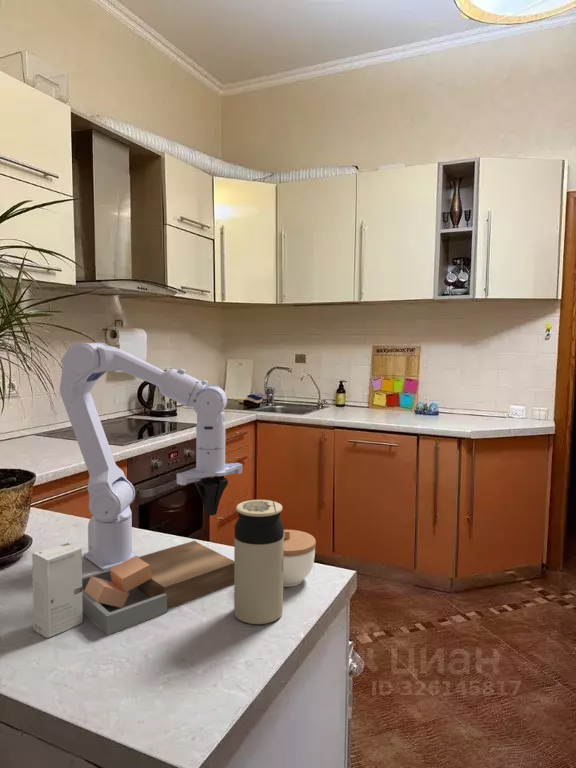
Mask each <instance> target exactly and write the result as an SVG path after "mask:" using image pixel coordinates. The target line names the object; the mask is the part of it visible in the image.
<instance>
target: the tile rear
mask: <svg viewBox="0 0 576 768" xmlns="http://www.w3.org/2000/svg"><path fill="white" fill-rule="evenodd" d="M109 571H110V575H111V579H112V583H114V584H115V585H116V586H118V587H119V588H120V589H122V590H123V591H124V592H128V591H129V590H131V589H133V588H135V587H137V586H139V585H140V584H142V583H144V582H146V581H148V580H150V579H151V578H152V573H151V569H150V565H149V564H148V563H146V562H144V561H143V560H141V559H140V558H138V557H137V556H135V557H133V558H131V559H129V560H127V561H125V562H123V563H121V564H119V565H117V566H115V567H113V568H109Z"/></svg>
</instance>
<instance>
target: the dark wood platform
mask: <svg viewBox="0 0 576 768" xmlns="http://www.w3.org/2000/svg"><path fill="white" fill-rule="evenodd" d="M139 556H140V555H139ZM138 558H140V559H141V560H143V561H144V562H146V563H148V564H149V565H150V569H151V573H152V578H151V579H150V580H148V581H146V582H144V583H142V584H140V585H139V586H137V587H135V588H137V589H138V590H140V591H141V592H142V593H144V594H145V595H147V596H148V597H149V598H152V597H155V596H158V595H161V594H163V593H165V594H166V595H167V611H168V610H171V609H173V608H175V607H178V606H180V604H181V605H183V604H186V603H188V601H189V602H191V601H194V600H196V599H199V598H201V597H204V596H206V595H209V594H212V593H214V592H217V591H220V590H222V589H225V588H228V587H230V586H233V585H234V559H231V558H229V557H227V556H226V555H223V554H221V553H220V552H217V551H215V550H213V549H211V548H209V547H207V546H205V545H203V544H201V543H199V542H197V541H195V540H191V541H189V542H186V543H181V544H179V545H175V546H172V547H167V548H165V549H162V550H157V551H154V552H152V553H148V554H144V555H141V556H140V557H138ZM185 602H186V603H185ZM172 607H173V608H172Z"/></svg>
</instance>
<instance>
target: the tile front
mask: <svg viewBox="0 0 576 768" xmlns="http://www.w3.org/2000/svg"><path fill="white" fill-rule="evenodd" d="M84 591H85V592H86V593H87V594H89V595H90V596H91V597H92V598H93V599H95V600H96V601H97V602H99V603H103V604H107V605H112V606H116V607H120V608H123V606H124V604H125V602H126V600H127V598H128V596H129V592H124V591H123V590H122V589H120V588H119V587H118V586H116V585H115V584H114V583H112V582H111V581H107V580H103V579H100V578H96V577H92V576H91V578H90V580H89V582H88V584H87V586H86V588H85V590H84Z"/></svg>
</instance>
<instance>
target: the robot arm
mask: <svg viewBox="0 0 576 768" xmlns="http://www.w3.org/2000/svg"><path fill="white" fill-rule="evenodd" d="M60 363H61V365H62V371H61V377H60V384H59V385H60V386H59V394H60V397H61V400H62V403H63V405H64V409H65V411H66V413H67V416H68V419H69V421H70V425H71V428H72V430H73V433H74V436H75V438H76V441H77V444H78V446H79V447H78V448H79V450H80V453H81V455H82V459H83V461H84V463H85V466H86V469H87V472H88V475H89V478H88V483H87V488H86V489H87V492H88V497H89V501H88V509H89V512H90V513H91V515H92V516H91V517H90V519H89V521H88V524H87V548H88V549H87V550H88V552H85V553H83V556H84V557H85V558H86V559H87V560H89V561H90V562H92V564H94V565H95V566H97V567H98V568H99V569H101V570H102V571H104V570H108V569H111V568H113V567H115V566H117V565H119V564H121V563H123V562H125V561H127V560H129V559H131V558H133V557H135V556H137V557H140V555H138V554H137V553H135V552H133V525H132V520H133V519H132V517H133V516H132V515H133V514H132V513H133V512H132V509H131V508H130V505H131V504H132V503H133V502H134V500H135V497H136V490H135V486H134V485H133V484H132V482H130V481H129V480H128V479H127V477H126V475H125V472H124V471H123V470H122V469H121V468H120V467H119V466H118V465H117V464H116V461H115V459H114V455H113V452H112V450H111V446H110V445H109V441H108V439H107V437H106V436H107V435H106V433H105V430H104V426H103V425H102V422H101V419H100V417H99V413H98V410H97V408H96V405H95V401H94V399H93V395H92V394H91V393H92V390H93V389H94V387H95V385H96V384H97V382H98V380H99V379H100V378H101V377H102V376H103V375H104V374H106V373H107V372H115V371H121V372H123V373H125V374H128V375H131V377H132V376H133V377H135V378H138V379H139V380H143V381H145V382H148V383H150V384H153V386H157V388H158V390H159V392H160V394H161V396H164V397H166V398H167V399H171V400H172V401H174V402H177V403H179V404H181V405H183V406H185V407H188V408H190V409H191V408H193V409H194V412H195V413H196V427H195V428H196V429H195V435H196V437H195V439H196V440H195V442H196V443H195V445H196V449H195V450H196V451H195V454H196V455H195V456H196V459H195V460H196V461H195V462H196V463H195V464H196V467H194V468H191V469H188V470H186V471H183V472H178V473H176V485H180V486H186V485H187V484H190V483H193V484H194V486H195V488H196V489H197V491H198V494H199V496H200V498H201V502H202V505H203V510H204V514H206V515H208V516H210V517H211V516H214V515H215V516H216V515H217V514H218V508H219V506H220V505H219V504H220V502H221V499H222V496H223V494H224V491H225V489H226V488H227V486H228V485H229V479H228V478H226V477H225V476H229V475H236V474H237V475H240V474H243V463H239V462H232V463H226V423H225V421H226V414H225V408H226V407H227V404H228V397H227V393H226V391H224V390H223V389H222V388H221V387H219V385H217V384H209V385H208V383H209V381H208V380H205V379H202V380H200V379H197V378H196V377H194V376H192V375H189V374H187V370H186V369H183V368H179V369H176V368H171V369H169V370H163V369H161V368H160V367H157V366H155V365H153V364H151V363H149V362H147V361H146V360H144V359H141V358H139V357H137V356H135V355H133V354H131V353H129V352H127V351H125V350H123V349H120V348H118V347H116V346H113V345H108V344H107V343H104V342H100V341H97V342H96V341H95V342H76V343H74V344H72V345H70V346H69V347H68V348H67V350H66V351H65V353H64V355H63V356H62V357H61V359H60Z"/></svg>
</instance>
